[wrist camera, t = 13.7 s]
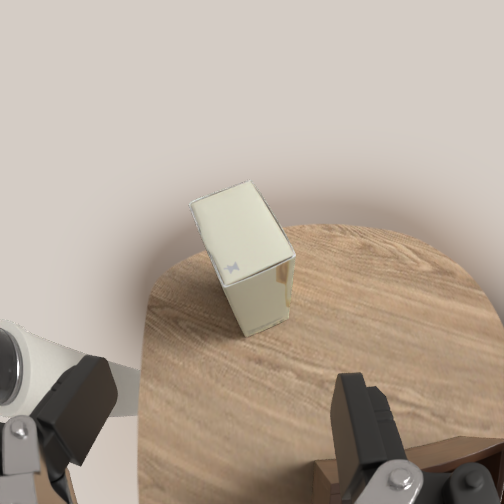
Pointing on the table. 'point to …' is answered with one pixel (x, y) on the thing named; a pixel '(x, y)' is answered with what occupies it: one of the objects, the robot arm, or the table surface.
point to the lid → (503, 500)
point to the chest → (423, 464)
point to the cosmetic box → (247, 254)
